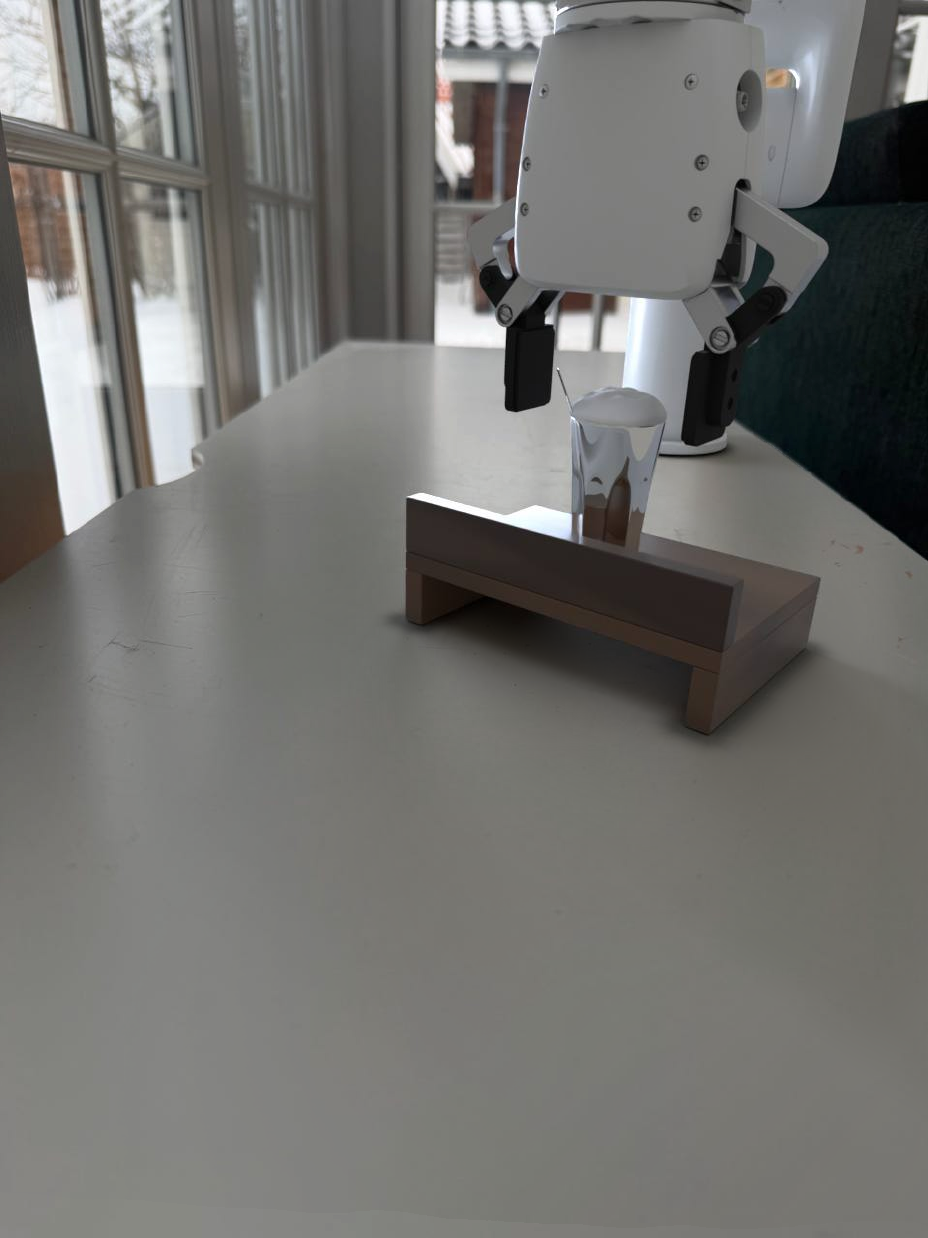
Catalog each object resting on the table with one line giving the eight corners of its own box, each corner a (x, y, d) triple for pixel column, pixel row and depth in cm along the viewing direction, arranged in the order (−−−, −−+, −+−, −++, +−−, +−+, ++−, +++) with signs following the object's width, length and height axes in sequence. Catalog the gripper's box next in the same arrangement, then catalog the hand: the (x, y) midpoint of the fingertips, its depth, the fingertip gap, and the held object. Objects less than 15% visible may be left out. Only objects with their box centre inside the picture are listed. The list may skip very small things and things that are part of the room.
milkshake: (536, 555, 47) (548, 361, 43) (634, 554, 47) (656, 363, 43) (550, 587, 43) (566, 376, 39) (658, 586, 43) (685, 378, 39)
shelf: (531, 564, 57) (538, 457, 54) (806, 647, 47) (833, 521, 44) (404, 619, 49) (405, 496, 46) (708, 735, 38) (733, 586, 36)
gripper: (906, -15, 33) (816, 441, 40) (528, 29, 43) (511, 388, 50) (839, -62, 28) (749, 473, 35) (425, 0, 37) (423, 407, 45)
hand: (609, 423), depth 42 cm, fingers open, 9 cm apart
